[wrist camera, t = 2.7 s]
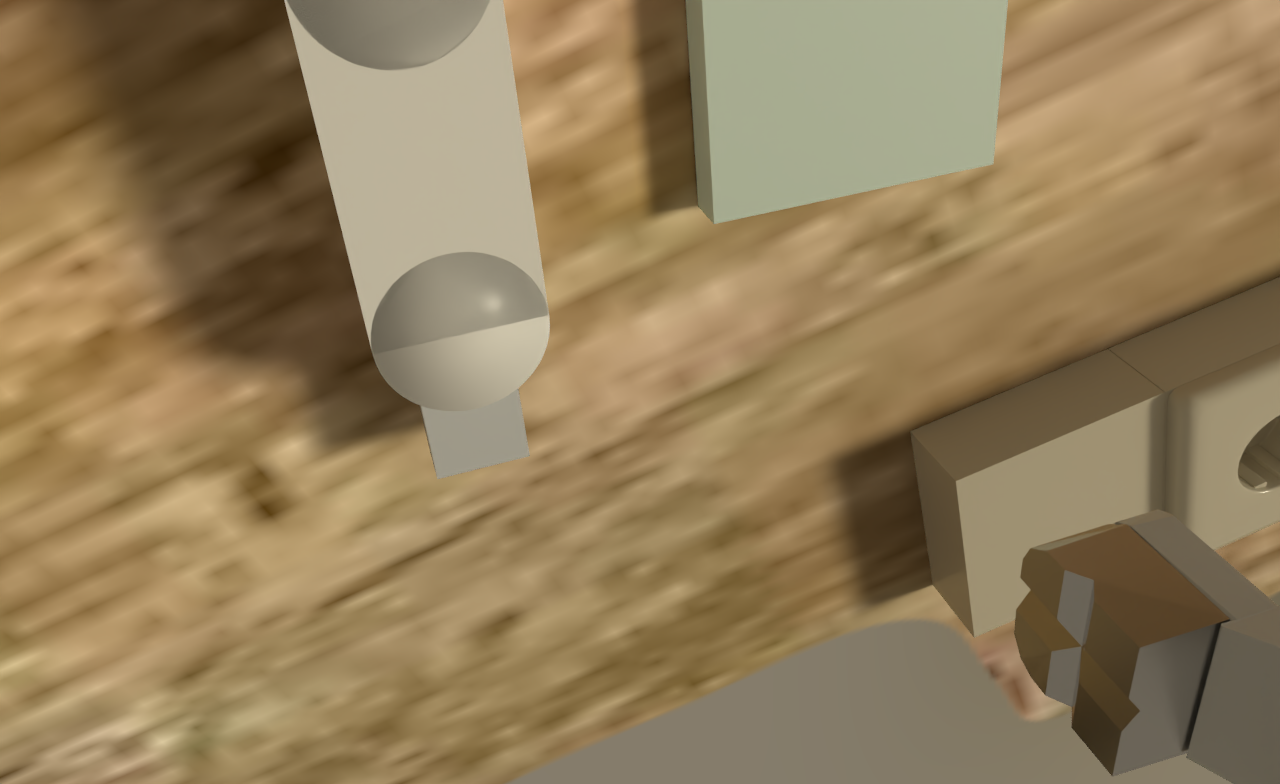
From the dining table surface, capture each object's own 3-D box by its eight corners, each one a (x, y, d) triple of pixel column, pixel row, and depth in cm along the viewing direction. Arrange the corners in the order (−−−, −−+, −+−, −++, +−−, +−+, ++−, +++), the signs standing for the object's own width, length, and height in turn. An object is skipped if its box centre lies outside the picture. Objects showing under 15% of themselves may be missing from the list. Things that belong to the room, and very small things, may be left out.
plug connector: (244, -167, 23) (249, -141, 20) (442, -192, 24) (477, -172, 21) (393, 432, 31) (413, 519, 28) (537, 397, 32) (573, 479, 29)
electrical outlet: (972, 499, 34) (1489, 277, 36) (905, 425, 37) (1382, 226, 39) (989, 657, 38) (1452, 450, 40) (927, 578, 41) (1357, 391, 43)
